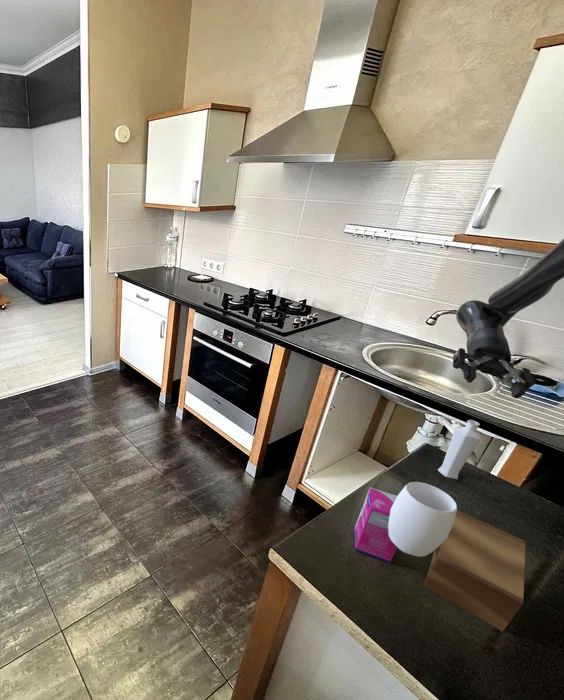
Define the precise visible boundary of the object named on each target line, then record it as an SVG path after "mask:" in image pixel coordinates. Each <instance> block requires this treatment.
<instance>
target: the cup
mask: <svg viewBox="0 0 564 700" xmlns="http://www.w3.org/2000/svg"><path fill="white" fill-rule="evenodd" d="M396 496H397V498H396V500H395V502H394V504H393V506H392V508H391V511H390V516H389V523H388V532H389V537H390V539H391V541H392V542H393V543H394V544H395V545H396V546H397V549H398V550H400V551H401V552H403V553H404V554H407V555H410V556H415V557H418V558H419V557H426V556H428V555H429V554H431V553H434V550H435V549H436V548H438V547H439V546H440V545H441V544H442V542H443V541H444V540H445V539H446V538H447V537H448V535H449V533H450V530H451V528H452V526H453V524H454V520H455V516H456V512H457V511H458V504H457V503H456V501H455V500H454V498H453V497H452V496H450V495H449V493H446V492H445V491H443V490H442V489H440V488H438V487H436V486H434V485H431V484H428V483H425V482H420V481H411V482H408V483H407V484H405V485H404V487H403V488H402V489H401V490H400V492H399V493H398V495H396Z"/></svg>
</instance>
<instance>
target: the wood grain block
mask: <svg viewBox="0 0 564 700" xmlns="http://www.w3.org/2000/svg"><path fill="white" fill-rule="evenodd" d="M526 543H527V542H526V540H524V539H522V538H519V537H517V536H515V535H513V534H510V533H508V532H506V531H503V530H502V529H500V528H497V527H495V526H493V525H490V524H488V523H486V522H484V521H482V520H480V519H477V518H474V517H473V516H470V515H468V514H466V513H464V512H461V511H459V510H457V512H456V516H455V520H454V524H453V526H452V528H451V530H450V533H449V535H448V537H447V538H446V539H445V540H444V541H443V542H442V544H441V545H440V546H439V547H438V548H436V549H435V550H434V551H433V552H432V553H433V554H432V556H431V561H430V564H429V567H428V571H427V574H426V578H425V580H424V582H423V587H424V588H425V589H428V590H429V591H431V592H433V593H435V594H436V595H437V596H440V597H441V598H443V599H445V600H446V601H448V602H449V603H452V604H453V605H455V606H457V607H459V608H460V609H462V610H463V611H466V612H467V613H469V614H471V615H473V616H474V617H476V618H478V619H479V620H481V621H483V622H484V623H486V624H488V625H490V626H491V627H493V628H495V629H497V630H499V631H500V632H502V633H503V632H504V631H505V630H506V628H507V627H508V626H509V624H510V623H511V621H512V620H513V619H514V617H515V616H516V615H517V613H518V612H519V611H520V610H521V608H522V606H524V602H525V601H524V600H525V599H524V597H525V573H526V572H525V568H526V567H525V566H526Z"/></svg>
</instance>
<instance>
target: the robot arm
mask: <svg viewBox="0 0 564 700" xmlns="http://www.w3.org/2000/svg"><path fill="white" fill-rule="evenodd" d="M563 278H564V238H563V239H561V240H560V241H559V242H558V243H557V244H555V246H554V247H553V248H551V249H550V250H549V251H548V252H547V253H546V254H545V255H543V256H542V257H541V258H540V259H539V260H537V262H535V263H534V264H533V265H532V266H531V267H530V268H528V269H526V271H525V272H523V273H521V274H520V275H518V276H517V277H515V278H514V279H513V280H511V281H509V282H508V283H506V284H504V285H503V286H502V287H500V288H499V289H497V290H495V291H494V292H493V293H491V294H490V295H489V297H488V298H487V303H486V302H484V301H482V300H478V299H477V300H476V299H471V300H467V301H465V302H464V303H462V304H461V305H460V306H459V307H458V309H457V310H456V313H455V318H456V322H457V323H458V325H459V327H460V328H461V329H462V331H463V332H464V333H465V334H466V349H465V348H463V347H459V348H458V350H457V351H456V352H455V353H454V354H453V355H452V368H453V369H456V370H458V369H460V370H461V372H462V373H463V378H464V380H465V381H466V383H469V384H471V383H473V382H474V380H476V378H477V372H479V371H480V373H482V374H486V375H489V376H492V377H494V378H496V379H497V380H498V381H500V383H502V384H506V385H508V386H509V389H510V393H511V397H512V398H513V399H519V398H522V396H524V395H525V394H526V393H527V391H528V390H529V389H530V388H532V387H533V386H534V385H535V384H536V383H535V380H534V377H533V375H532V372H531V370H530V369H529V368H526V367H523V368H522V369H519V368H516V367H515V366H514V365H513V364H512V362H511V361H512V353H511V350H510V345H509V341H508V338H507V337H506V334H505V331H504V327H505V326H506V325H507V324H508V322H510V320H511V319H512V318H514V317H515V315H517V314H518V313H519V312H520V311H522V310H524V309H525V308H527V307H530V306H531V305H533V304H535V303H537V302H539V301H540V300H542V299H543V298H544V297H546V296H547V295H548V294H549V293H550V292H551V290H552V289H553V288H554V286H555V284H556V283H557V282H559V281H560V280H562V279H563ZM466 359H467V360H466ZM466 361H468V363H467V362H466ZM504 376H505V377H504ZM513 380H514V381H515V382H514V381H513Z"/></svg>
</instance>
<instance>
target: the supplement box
mask: <svg viewBox="0 0 564 700" xmlns="http://www.w3.org/2000/svg"><path fill="white" fill-rule="evenodd" d="M397 496H398V495H396V494H392V493H389V492H386V491H384V490H383V491H382V490H380V489H376V488H374V487H369V489H368V491H367V494H366V496H365V499H364V502H363V505H362V507H361V510H360V511H359V512H360V513H359V515H358V518H357V521H356V523H355V526H354V530H353V531H354V540H355V541H354V543H355V544H354V545H355V546H354V547H355V548H354V550H355V551H356V552H359V553H362V554H365V555H367V556H370V557H372V558H375V559H377V560H380V561H382V562H385V563H387V564H391V563H392V560H393V558H394V555H395V554H396V551H397V549H398V547H397V546H396V545H395V544H394V543H393V542H392V541H391V539H390V537H389V532H388V523H389V516H390V511H391V508H392V506H393V504H394V502H395V500H396V498H397Z"/></svg>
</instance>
